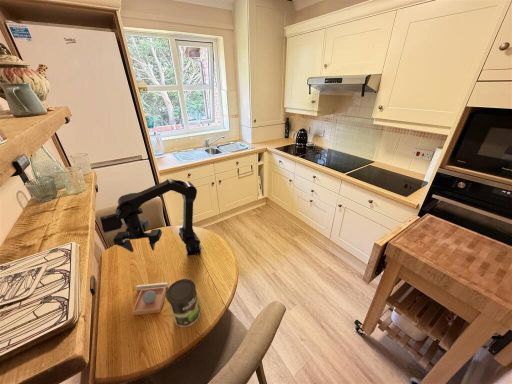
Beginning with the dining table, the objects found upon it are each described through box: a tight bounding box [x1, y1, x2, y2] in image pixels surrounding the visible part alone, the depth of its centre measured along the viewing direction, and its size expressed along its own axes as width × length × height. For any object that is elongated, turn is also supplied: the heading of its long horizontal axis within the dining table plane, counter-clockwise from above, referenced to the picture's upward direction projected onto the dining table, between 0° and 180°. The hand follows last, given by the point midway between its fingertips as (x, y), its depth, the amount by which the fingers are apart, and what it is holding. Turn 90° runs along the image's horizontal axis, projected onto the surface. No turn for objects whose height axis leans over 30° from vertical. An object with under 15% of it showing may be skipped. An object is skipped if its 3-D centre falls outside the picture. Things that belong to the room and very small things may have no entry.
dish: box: [131, 287, 168, 316], centre depth 88 cm, size 10×10×2 cm
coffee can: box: [165, 278, 201, 328], centre depth 80 cm, size 10×10×14 cm
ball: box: [142, 290, 156, 304], centre depth 87 cm, size 5×5×5 cm
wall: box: [135, 281, 169, 292], centre depth 93 cm, size 13×1×2 cm, turn 97°
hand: (143, 250), depth 98 cm, fingers open, 9 cm apart
